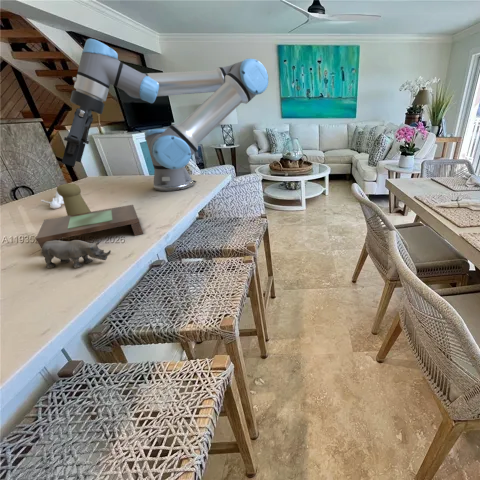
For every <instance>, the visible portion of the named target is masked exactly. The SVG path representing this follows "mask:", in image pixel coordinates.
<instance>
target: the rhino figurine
mask: <svg viewBox="0 0 480 480" xmlns="http://www.w3.org/2000/svg"><path fill="white" fill-rule="evenodd" d="M100 242H101V240H100V239H98V241H96V242H95V243H90V242H88V241H84V240H79V239H73V240H69V241H65V240H61V239H60V240H54V241H46V242H45V243H44V245H43V247H42V249H41V248H40V249H41V255H42V257H43V258H44V263H45V264H46V268H47V269H50V268H51V269H53V268H54V267H55V266H56V263H54V262H52V260H53V259H54V258H56V259H59V260H60V263H69V262H71V261H72V262H73V264H72V266H73V268H74V269H78V268H81V267H82V266H83V265H82V263H80V258H82V259H83V262H84V263H86V264H87V263H91V262H93V259H96V260H100V261H106V260H107V259H108V256H109V255H110V254H111V252H112V251H111V249H110V250H108V251H107V252H105V249H101V248H99V247H98V245H100Z"/></svg>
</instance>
